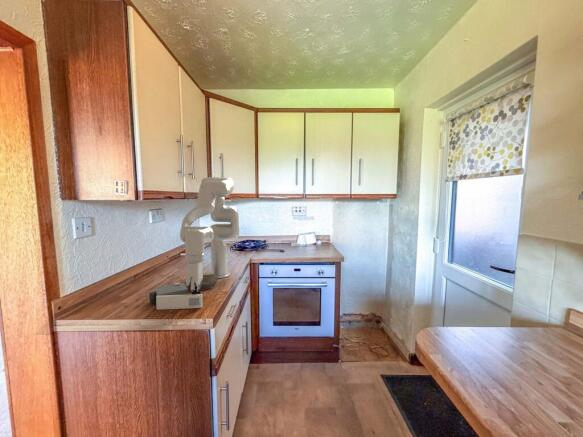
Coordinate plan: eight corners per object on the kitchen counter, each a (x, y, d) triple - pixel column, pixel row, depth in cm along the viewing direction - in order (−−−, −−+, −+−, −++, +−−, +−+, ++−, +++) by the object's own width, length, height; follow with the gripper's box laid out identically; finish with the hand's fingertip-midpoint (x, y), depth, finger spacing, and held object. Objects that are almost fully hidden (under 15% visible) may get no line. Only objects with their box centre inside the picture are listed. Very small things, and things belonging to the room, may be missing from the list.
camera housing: (148, 300, 109) (148, 286, 108) (183, 294, 117) (182, 280, 116) (150, 310, 99) (150, 294, 99) (188, 302, 107) (187, 287, 107)
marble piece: (181, 292, 120) (180, 284, 120) (186, 282, 134) (186, 275, 134) (216, 289, 124) (215, 281, 124) (217, 280, 138) (217, 273, 138)
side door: (157, 308, 100) (157, 295, 100) (202, 306, 102) (202, 294, 102) (156, 310, 99) (155, 297, 98) (201, 308, 101) (201, 295, 101)
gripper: (191, 254, 110) (191, 293, 111) (180, 262, 95) (181, 307, 96) (208, 253, 111) (208, 292, 112) (199, 262, 96) (200, 306, 97)
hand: (196, 299), depth 104 cm, fingers closed
